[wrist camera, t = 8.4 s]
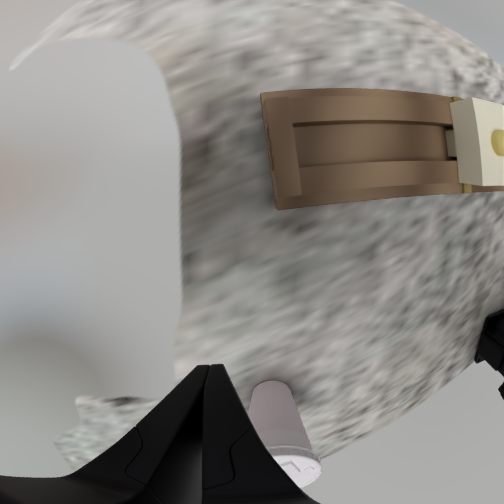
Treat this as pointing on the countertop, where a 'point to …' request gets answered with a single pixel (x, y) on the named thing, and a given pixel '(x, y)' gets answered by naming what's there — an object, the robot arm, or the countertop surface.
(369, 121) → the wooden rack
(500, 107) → the block
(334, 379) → the countertop surface
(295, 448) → the smoothie
